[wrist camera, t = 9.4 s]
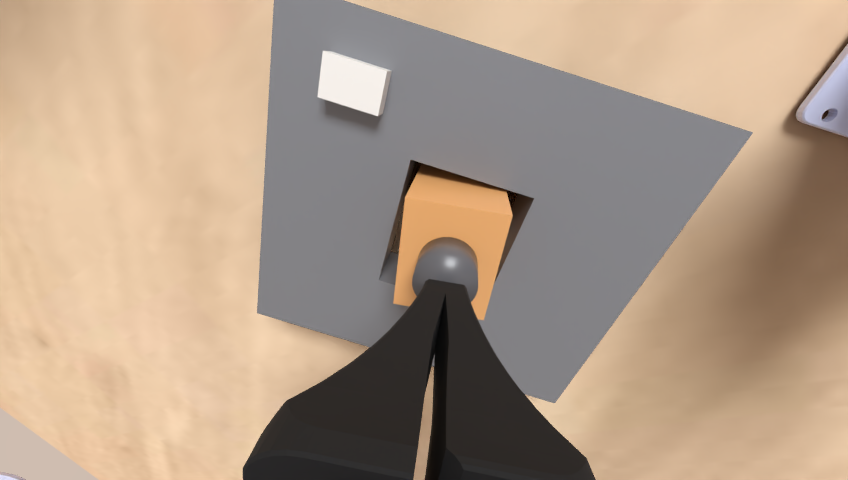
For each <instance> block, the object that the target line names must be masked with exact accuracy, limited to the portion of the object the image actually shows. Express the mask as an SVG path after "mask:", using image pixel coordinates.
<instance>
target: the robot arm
mask: <svg viewBox="0 0 848 480" xmlns="http://www.w3.org/2000/svg"><path fill="white" fill-rule="evenodd" d="M826 110H829V113H828V115H827V116H826V117H825V118H824V119H822V115H823V113H824V112H825V111H826ZM796 118H797V120H798V121H800V122H801V123H804V124H807V125H810V126H813V127H817V128H820V129H823V130H826V131H829V132H832V133H835V134H838V135H841V136H844V137H847V138H848V44H847V45H846V47H845V48H844V49H843V51H842V52H841V53H840V55H839V56H838V57H837V58H836V60H835V61H834V62H833V64H832V65H831V66H830V68H829V69H828V70H827V71H826V73H825V74H824V75H823V77H822V78H821V79H820V81H819V82H818V83H817V84H816V86H815V87H814V88H813V90H812V91H811V92H810V94H809V95H808V96H807V97H806V99H805V100H804V101H803V103H802V104H801V105H800V106H799V108H798V110H797V112H796ZM434 354H435V358H434ZM433 358H434V386H433V414H432V427H431V436H430V444H429V452H428V460H427V467H426V475H425V480H595V477H594V475H593V473H592V470H591V468H590V465H589V463H588V461H587V458H586V457H585V456H584V455H582V454H581V453H580V452H579V451H578V450H577V449H576V448H575V447H574V446H573V445H572V444H571V443H570V442H569V441H568V440H567V439H566V438H564V437H563V436H562V435H561V434H560V433H559V432H558V431H557V430H556V429H555V428H554V427H553V426H552V425H551V424H550V423H549V422H548V421H547V420H546V419H545V417H544V416H543V415H542V414H541V413H540V412H539V411H538V410H537V409H536V408H535V407H534V405H533V404H532V403H531V402H530V400H529V399H528V398H527V397H526V396H525V394H524V393H523V392H522V391H521V390H520V388H519V387H518V386H517V385H516V383H515V382H514V380H513V379H512V378H511V376H510V375H509V373H508V372H507V371H506V369H505V368H504V366H503V365H502V363H501V362H500V360H499V358H498V357H497V355H496V354H495V352H494V350H493V348H492V347H491V345H490V343H489V341H488V339H487V338H486V336H485V334H484V332H483V330H482V327H481V325H480V323H479V321H478V319H477V317H476V314H475V312H474V309H473V307H472V304H471V301H470V298H469V295H468V292H467V288H466V287H465V285H462V284H456V283H451V282H445V281H439V280H433V279H428V280H426V281H425V284H424V286H423V288H422V289H421V291H420V293H419V294H418V296H417V297H416V299H415V300H414V301H413V303H412V304H411V305H410V307H409V308H408V309H407V310H406V312H405V313H404V314H403V315H402V316H401V318H400V319H399V320H398V321H397V322H396V323H395V324H394V325H393V326H392V328H391V329H390V330H389V331H388V332H387V333H386V334H385V335H383V336H382V337H381V338H380V339H379V340H378V341H377V342H376V343H375V344H374V345H372V346H371V347H370V348H369V349H368V350H366V351H365V352H364V353H363V354H361V355H360V356H359V357H358V358H356V359H355V360H354V361H352V362H351V363H350V364H348V365H347V366H345V367H344V368H342V369H341V370H339V371H338V372H336V373H334V374H333V375H331V376H330V377H328V378H327V379H325V380H324V381H322V382H320V383H319V384H317V385H315V386H313V387H311V388H309V389H308V390H306V391H304V392H302V393H300V394H298V395H296V396H295V397H293V398H291V399H289V400H287V401H286V402H285V403H284V404H283V406H282V407H281V408H280V409H279V411H278V412H277V413H276V414H275V416H274V417H273V419H272V420H271V421H270V423H269V424H268V425H267V427H266V428H265V430H264V431H263V433H262V434H261V436H260V438H259V440H258V442H257V443H256V445H255V447H254V449H253V451H252V453H251V454H250V456H249V458H248V460H247V462H246V464H245V465H244V467H243V480H413V476H414V469H415V463H416V456H417V449H418V441H419V433H420V426H421V418H422V410H423V403H424V395H425V391H426V387H427V383H428V378H429V374H430V370H431V366H432V362H433ZM0 480H25V479H23V478H22V477H19V476H16V475H13V474H8V473H3V472H0Z"/></svg>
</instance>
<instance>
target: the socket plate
mask: <svg viewBox="0 0 848 480" xmlns="http://www.w3.org/2000/svg"><path fill="white" fill-rule="evenodd" d="M752 133H753V132H750V131H747V130H743V129H740V128H737V127H734V126H731V125H728V124H725V123H722V122H719V121H716V120H712V119H709V118H706V117H703V116H700V115H697V114H694V113H691V112H688V111H685V110H681V109H678V108H675V107H672V106H669V105H666V104H663V103H660V102H657V101H654V100H650V99H647V98H644V97H641V96H638V95H635V94H632V93H629V92H626V91H623V90H619V89H616V88H613V87H610V86H607V85H604V84H601V83H598V82H595V81H592V80H589V79H585V78H582V77H579V76H576V75H573V74H570V73H567V72H564V71H561V70H558V69H554V68H551V67H548V66H545V65H542V64H539V63H536V62H533V61H530V60H527V59H523V58H520V57H517V56H514V55H511V54H508V53H505V52H502V51H499V50H496V49H492V48H489V47H486V46H483V45H480V44H477V43H474V42H471V41H468V40H465V39H461V38H458V37H455V36H452V35H449V34H446V33H443V32H440V31H437V30H434V29H430V28H427V27H424V26H421V25H418V24H415V23H412V22H409V21H406V20H403V19H400V18H396V17H393V16H390V15H387V14H384V13H381V12H378V11H375V10H372V9H369V8H365V7H362V6H359V5H356V4H353V3H350V2H347V1H344V0H274V10H273V28H272V47H271V65H270V84H269V103H268V121H267V140H266V158H265V177H264V195H263V214H262V232H261V251H260V269H259V288H258V306H257V313H259V314H262V315H265V316H269V317H272V318H275V319H278V320H282V321H285V322H288V323H292V324H295V325H298V326H301V327H305V328H308V329H311V330H315V331H318V332H321V333H325V334H328V335H331V336H334V337H338V338H341V339H344V340H348V341H351V342H354V343H358V344H361V345H364V346H367V347H371V346H372V345H374V344H375V343H376V342H377V341H378V340H379V339H380V338H381V337H382V336H383V335H385V334H386V333H387V332H388V331H389V330H390V329H391V328H392V326H393V325H394V324H395V323H396V322H397V321H398V320H399V319H400V318H401V316H402V315H403V314H404V313H405V312H406V310H407V309H408V308H409V306H404V305H398V304H393V301H394V292H395V283H396V274H397V265H398V256H399V254H397V253H394V252H391V250H392V246H393V242H394V239H395V235H396V231H397V228H398V224H399V220H400V217H401V213H402V209H403V206H404V202H405V196H406V194H407V191H408V187H409V184H410V180H411V176H412V173H413V169H414V165H415V162H416V161H417V162H420V163H423V164H427V165H430V166H433V167H436V168H439V169H442V170H446V171H449V172H452V173H455V174H458V175H461V176H465V177H468V178H471V179H474V180H477V181H480V182H484V183H487V184H490V185H493V186H496V187H500V188H503V189H506V190H509V191H512V192H515V193H518V194H517V196H516V199H515V201H514V203H513V206H512V208H511V211H512V215H513V217H512V220H511V224H510V228H509V231H508V235H507V238H506V242H505V246H504V249H503V253H502V256H501V260H500V264H499V267H498V271H497V274H496V278H495V282H494V285H493V289H492V292H491V296H490V300H489V303H488V307H487V310H486V314H485V318H484V320H479V319H478V321H479V323H480V325H481V327H482V330H483V332H484V334H485V336H486V338H487V339H488V341H489V343H490V345H491V347H492V348H493V350H494V352H495V354H496V355H497V357H498V358H499V360H500V362H501V363H502V365H503V366H504V368H505V369H506V371H507V372H508V373H509V375H510V376H511V378H512V379H513V380H514V382H515V383H516V385H517V386H518V387H519V388H520V390H521V391H522V392H523V393H524V394H526V395H529V396H532V397H536V398H539V399H542V400H545V401H549V402H552V403H555V402H556V401H557V399H558V398H559V397H560V395H561V394H562V393H563V391H564V390H565V389H566V387H567V386H568V384H569V383H570V382H571V380H572V379H573V378H574V376H575V375H576V374H577V372H578V371H579V369H580V368H581V367H582V365H583V364H584V363H585V361H586V360H587V359H588V357H589V356H590V354H591V353H592V352H593V350H594V349H595V348H596V346H597V345H598V344H599V342H600V341H601V339H602V338H603V337H604V335H605V334H606V333H607V331H608V330H609V328H610V327H611V326H612V324H613V323H614V322H615V320H616V319H617V318H618V316H619V315H620V313H621V312H622V311H623V309H624V308H625V307H626V305H627V304H628V303H629V301H630V300H631V298H632V297H633V296H634V294H635V293H636V292H637V290H638V289H639V288H640V286H641V285H642V283H643V282H644V281H645V279H646V278H647V277H648V275H649V274H650V273H651V271H652V270H653V268H654V267H655V266H656V264H657V263H658V262H659V260H660V259H661V258H662V256H663V255H664V253H665V252H666V251H667V249H668V248H669V247H670V245H671V244H672V243H673V241H674V240H675V238H676V237H677V236H678V234H679V233H680V232H681V230H682V229H683V228H684V226H685V225H686V223H687V222H688V221H689V219H690V218H691V217H692V215H693V214H694V213H695V211H696V210H697V208H698V207H699V206H700V204H701V203H702V202H703V200H704V199H705V198H706V196H707V195H708V193H709V192H710V191H711V189H712V188H713V187H714V185H715V184H716V183H717V181H718V180H719V178H720V177H721V176H722V174H723V173H724V172H725V170H726V169H727V168H728V166H729V165H730V163H731V162H732V161H733V159H734V158H735V157H736V155H737V154H738V152H739V151H740V150H741V148H742V147H743V146H744V144H745V143H746V142H747V140H748V139H749V137H750V136H751V135H752ZM434 358H435V354H434ZM434 358H433V362H432V366H433V367H434Z"/></svg>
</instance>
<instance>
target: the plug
mask: <svg viewBox="0 0 848 480" xmlns="http://www.w3.org/2000/svg"><path fill="white" fill-rule="evenodd" d="M512 217H513V215H512V211H511V207H510V203H509V199H508V195H507V192H506V189H503V188H500V187H496V186H493V185H490V184H487V183H484V182H480V181H477V180H474V179H471V178H468V177H465V176H461V175H458V174H455V173H452V172H449V171H446V170H442V169H439V168H436V167H433V166H430V165H427V164H423V163H422V164H421V166H420V168H419V170H418V172H417V174H416V176H415V178H414V180H413V182H412V184H411V186H410V188H409V190H408V192H407V194H406V196H405V202H404V211H403V220H402V229H401V238H400V247H399V256H398V265H397V274H396V283H395V292H394V301H393V304H398V305H404V306H409V307H410V305H411V304H412V303H413V301H414V300H415V299H416V297H417V296H418V294H419V293H420V291H421V289H422V288H423V286H424V284H425V281H426V280H428V279H433V280H439V281H445V282H451V283H456V284H462V285H465V287H466V288H467V292H468V295H469V298H470V301H471V304H472V307H473V309H474V312H475V314H476V317H477V319H479V320H484V318H485V314H486V310H487V307H488V303H489V300H490V296H491V292H492V289H493V285H494V282H495V278H496V274H497V271H498V267H499V264H500V260H501V256H502V253H503V249H504V246H505V242H506V238H507V235H508V231H509V228H510V224H511V220H512Z"/></svg>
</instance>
